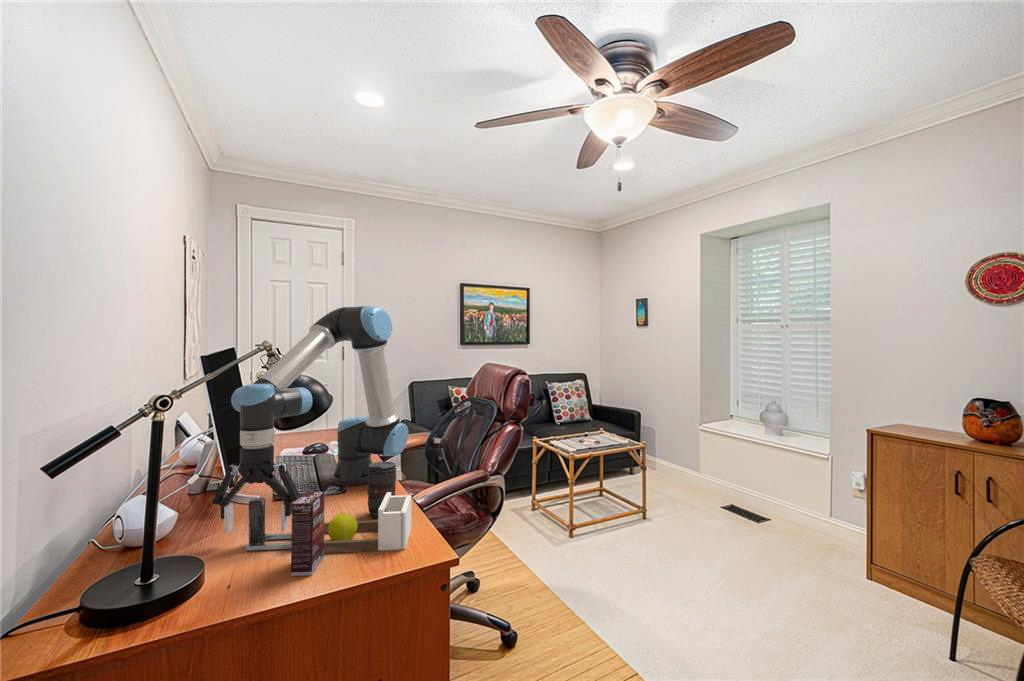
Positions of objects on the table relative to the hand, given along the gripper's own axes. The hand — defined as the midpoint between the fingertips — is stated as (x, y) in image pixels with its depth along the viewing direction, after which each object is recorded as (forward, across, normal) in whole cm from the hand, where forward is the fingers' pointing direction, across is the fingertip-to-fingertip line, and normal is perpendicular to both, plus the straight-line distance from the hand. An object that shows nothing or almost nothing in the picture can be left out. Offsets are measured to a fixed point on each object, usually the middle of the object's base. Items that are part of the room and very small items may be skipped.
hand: (256, 530), depth 115 cm
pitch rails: (+4, +22, 0) cm, 23 cm away
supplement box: (+4, +17, -13) cm, 21 cm away
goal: (+4, +34, 0) cm, 34 cm away
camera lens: (+4, +28, +17) cm, 33 cm away
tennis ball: (+4, +21, 0) cm, 21 cm away
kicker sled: (+4, +5, 0) cm, 6 cm away
